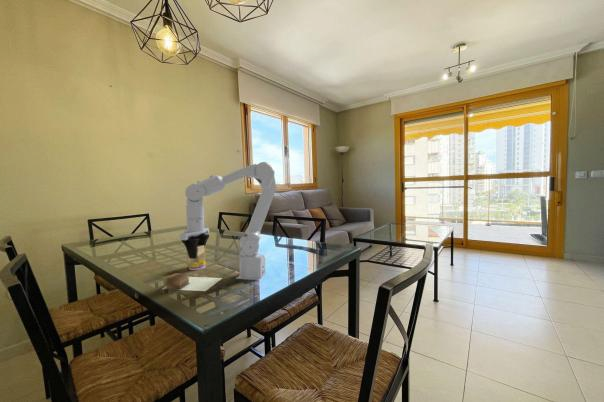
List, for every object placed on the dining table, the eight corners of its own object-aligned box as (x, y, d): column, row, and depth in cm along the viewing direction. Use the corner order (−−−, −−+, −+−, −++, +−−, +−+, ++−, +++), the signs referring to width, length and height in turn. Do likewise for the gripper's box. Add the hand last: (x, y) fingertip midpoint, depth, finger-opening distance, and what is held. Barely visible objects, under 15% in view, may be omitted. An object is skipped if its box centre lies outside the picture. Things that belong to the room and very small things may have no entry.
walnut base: (188, 283, 89) (188, 273, 88) (179, 289, 84) (179, 278, 84) (176, 282, 89) (175, 273, 89) (166, 288, 84) (165, 278, 84)
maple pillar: (204, 259, 91) (204, 245, 91) (198, 262, 87) (197, 247, 87) (194, 258, 91) (194, 245, 91) (187, 261, 87) (187, 247, 87)
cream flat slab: (222, 279, 94) (222, 278, 93) (205, 292, 82) (205, 291, 82) (183, 278, 96) (183, 276, 96) (161, 290, 84) (161, 288, 84)
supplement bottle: (199, 271, 103) (198, 241, 103) (185, 271, 104) (184, 240, 104) (209, 266, 110) (207, 237, 109) (195, 266, 111) (194, 237, 110)
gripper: (196, 216, 96) (197, 251, 97) (171, 220, 82) (172, 261, 83) (213, 216, 95) (214, 251, 96) (191, 221, 81) (192, 262, 81)
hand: (196, 256), depth 89 cm, fingers closed on maple pillar, 4 cm apart
